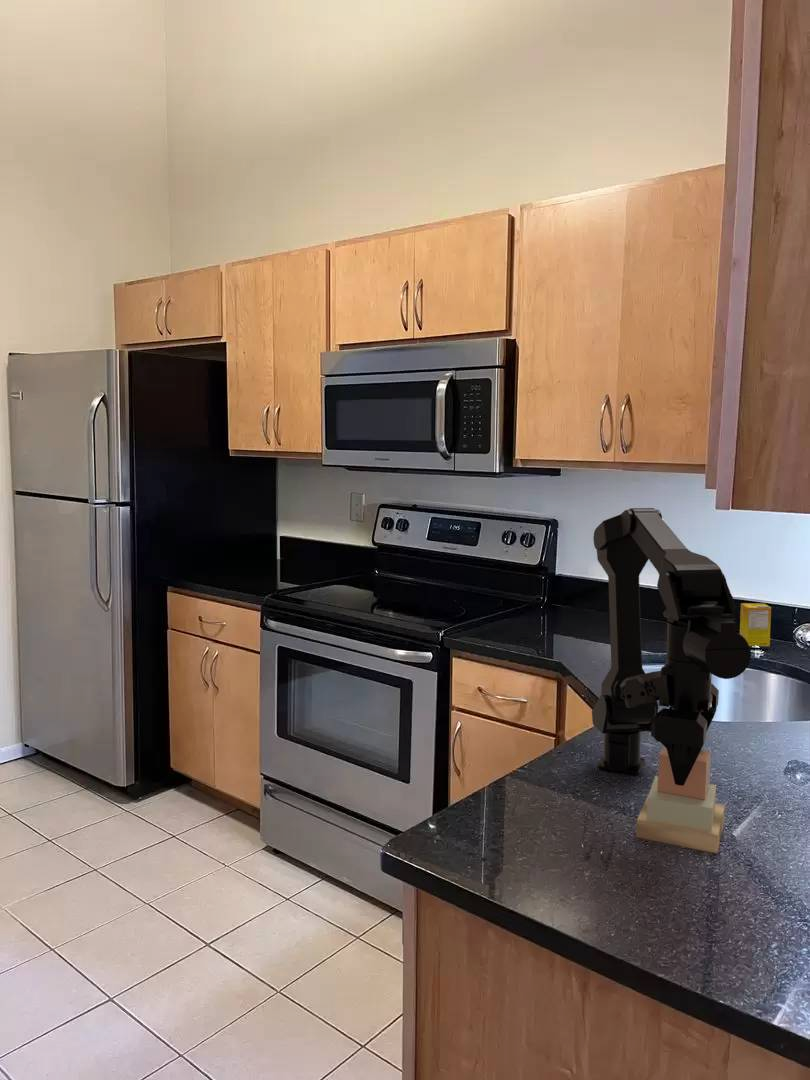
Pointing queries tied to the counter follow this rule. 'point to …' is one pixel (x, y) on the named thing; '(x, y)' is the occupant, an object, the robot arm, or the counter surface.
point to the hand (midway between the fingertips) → (684, 772)
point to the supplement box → (756, 624)
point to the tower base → (682, 831)
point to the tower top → (681, 808)
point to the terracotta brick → (695, 782)
